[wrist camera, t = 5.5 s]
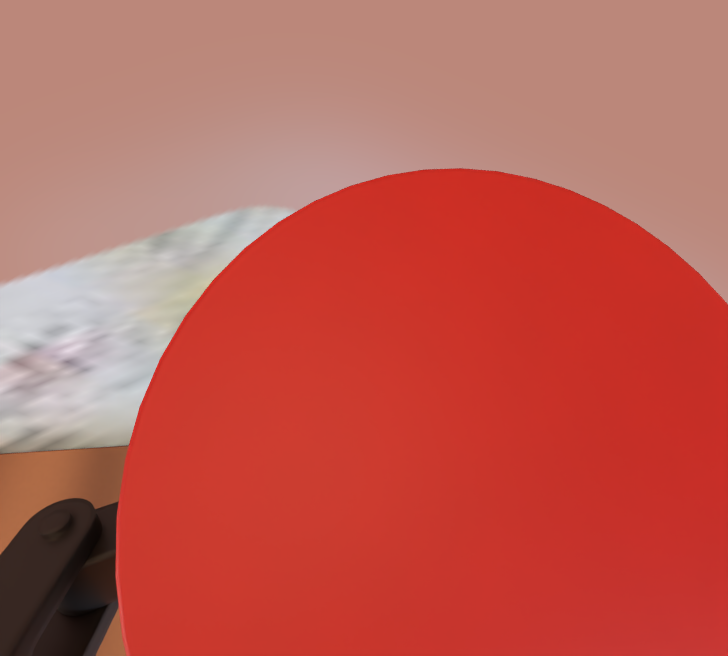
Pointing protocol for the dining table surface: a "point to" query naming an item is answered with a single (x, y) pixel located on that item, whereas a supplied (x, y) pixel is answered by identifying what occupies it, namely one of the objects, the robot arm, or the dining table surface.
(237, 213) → the dining table surface
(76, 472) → the coaster
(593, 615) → the cap
